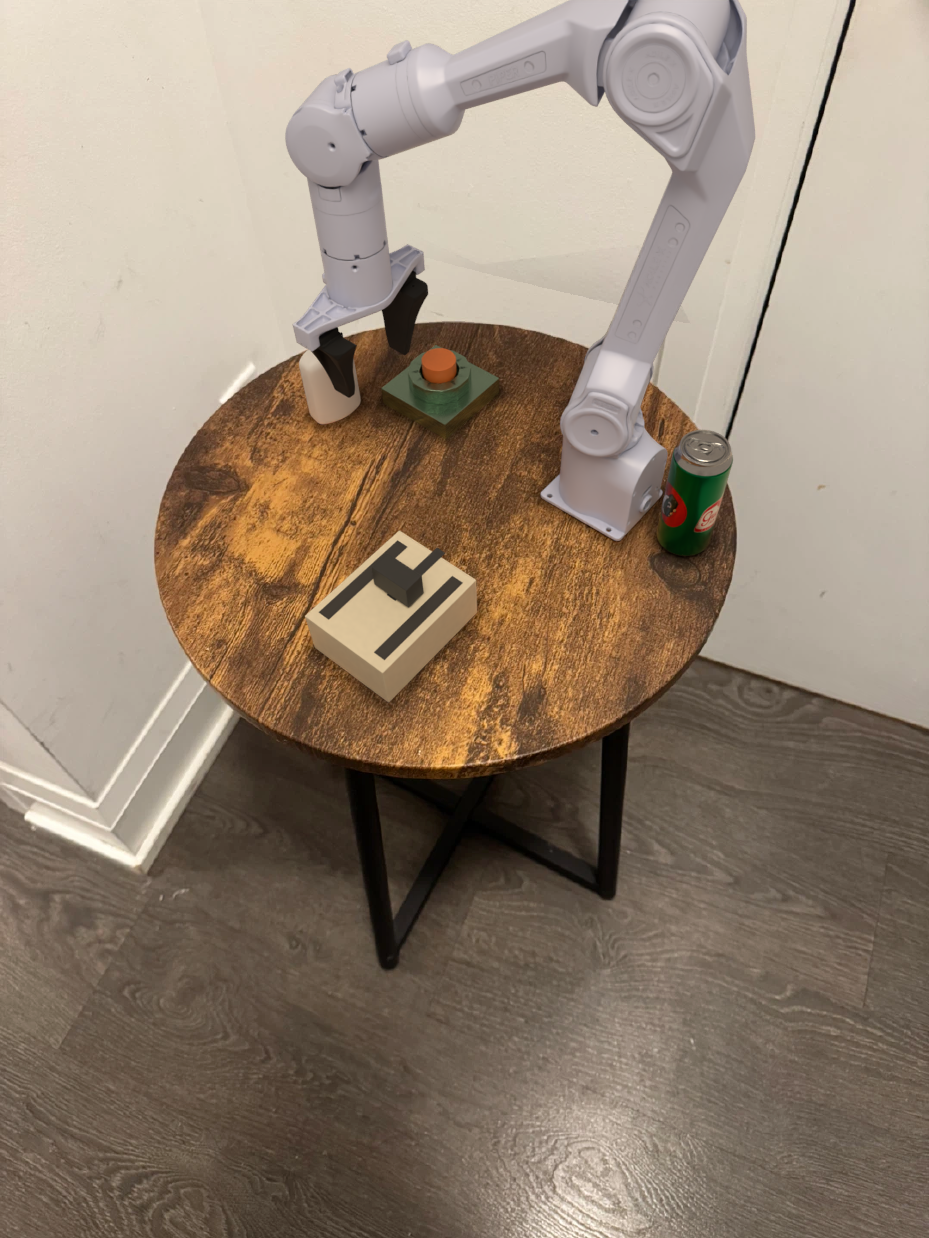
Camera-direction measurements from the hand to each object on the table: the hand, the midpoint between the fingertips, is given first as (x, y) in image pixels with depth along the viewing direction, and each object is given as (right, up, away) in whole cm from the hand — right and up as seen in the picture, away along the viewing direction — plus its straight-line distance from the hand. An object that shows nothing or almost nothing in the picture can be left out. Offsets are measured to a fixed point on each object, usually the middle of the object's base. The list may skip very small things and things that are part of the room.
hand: (372, 370), depth 85 cm
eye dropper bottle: (-5, -1, +11) cm, 13 cm away
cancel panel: (+6, 0, +12) cm, 13 cm away
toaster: (+3, -25, -5) cm, 25 cm away
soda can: (+30, -16, 0) cm, 34 cm away
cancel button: (+6, +2, +9) cm, 11 cm away
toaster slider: (+3, -21, -9) cm, 23 cm away
